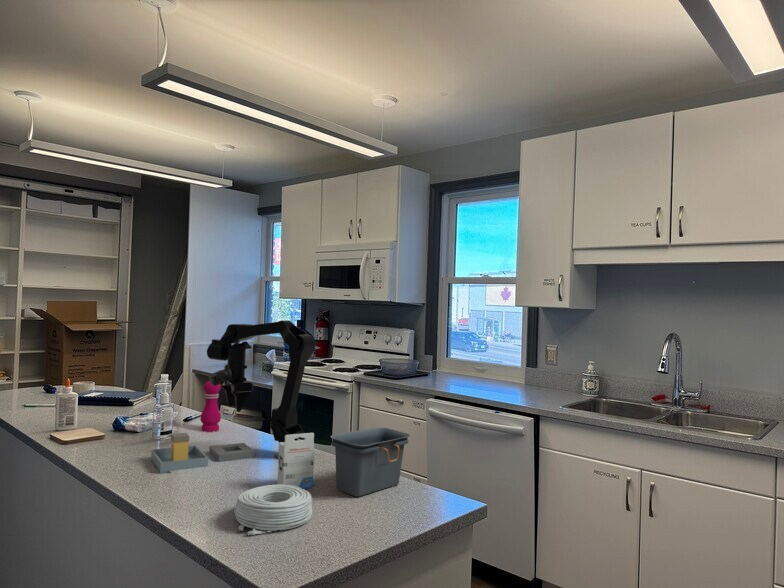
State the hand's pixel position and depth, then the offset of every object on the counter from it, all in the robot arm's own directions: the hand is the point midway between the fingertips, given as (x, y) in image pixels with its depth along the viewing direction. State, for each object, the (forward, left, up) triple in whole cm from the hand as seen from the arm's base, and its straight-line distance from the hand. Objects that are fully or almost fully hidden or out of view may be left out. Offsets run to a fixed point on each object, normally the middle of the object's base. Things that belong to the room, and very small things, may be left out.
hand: (234, 409), depth 185 cm
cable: (-61, +9, -14) cm, 63 cm away
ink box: (-43, -4, -13) cm, 45 cm away
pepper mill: (+28, 0, -13) cm, 31 cm away
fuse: (-10, +19, -12) cm, 25 cm away
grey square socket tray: (-9, +3, -13) cm, 16 cm away
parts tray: (-10, +19, -13) cm, 25 cm away
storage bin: (-53, -22, -13) cm, 59 cm away
